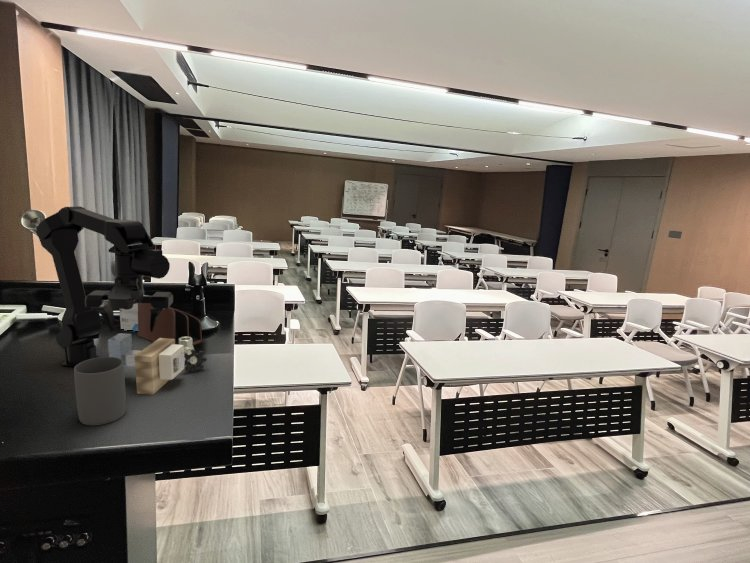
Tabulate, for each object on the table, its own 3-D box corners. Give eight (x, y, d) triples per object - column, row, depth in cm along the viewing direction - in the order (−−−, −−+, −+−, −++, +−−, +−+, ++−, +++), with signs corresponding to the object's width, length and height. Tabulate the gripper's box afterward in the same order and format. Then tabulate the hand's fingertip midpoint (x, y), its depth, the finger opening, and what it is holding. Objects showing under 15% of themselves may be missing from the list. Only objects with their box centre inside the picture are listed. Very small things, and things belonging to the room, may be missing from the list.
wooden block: (137, 393, 105) (134, 355, 103) (161, 372, 117) (159, 337, 115) (153, 394, 105) (151, 356, 103) (176, 373, 117) (174, 338, 115)
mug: (133, 416, 96) (129, 366, 93) (85, 431, 89) (80, 378, 87) (112, 393, 105) (108, 347, 102) (67, 405, 98) (62, 356, 95)
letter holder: (174, 352, 131) (172, 307, 128) (137, 336, 141) (135, 295, 138) (202, 343, 140) (201, 301, 136) (166, 329, 150) (164, 289, 147)
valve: (172, 359, 126) (181, 375, 117) (171, 338, 125) (180, 352, 115) (196, 355, 130) (207, 370, 120) (195, 334, 128) (206, 348, 119)
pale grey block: (110, 373, 108) (107, 340, 106) (121, 365, 113) (119, 333, 111) (177, 378, 108) (176, 344, 106) (186, 369, 113) (185, 337, 111)
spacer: (159, 379, 107) (158, 354, 106) (173, 367, 114) (172, 344, 113) (171, 379, 107) (170, 355, 106) (184, 368, 114) (183, 344, 113)
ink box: (152, 328, 149) (150, 286, 146) (142, 332, 144) (140, 290, 141) (130, 325, 150) (127, 284, 147) (120, 329, 146) (117, 287, 142)
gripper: (71, 278, 97) (77, 343, 101) (161, 281, 101) (163, 343, 105) (92, 268, 108) (96, 327, 111) (172, 270, 112) (174, 327, 115)
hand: (132, 331), depth 110 cm, fingers open, 9 cm apart
